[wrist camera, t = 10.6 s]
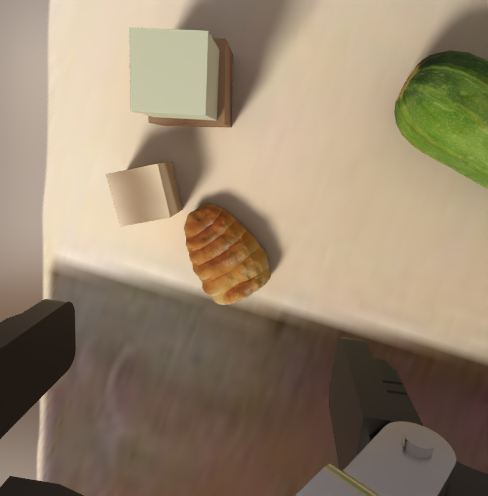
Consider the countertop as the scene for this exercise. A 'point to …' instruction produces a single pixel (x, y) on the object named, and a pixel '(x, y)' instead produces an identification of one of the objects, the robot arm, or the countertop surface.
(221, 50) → the walnut block
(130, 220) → the birch block
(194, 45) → the sage cube
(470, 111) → the vegetable
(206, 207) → the pastry
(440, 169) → the countertop surface
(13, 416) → the robot arm
